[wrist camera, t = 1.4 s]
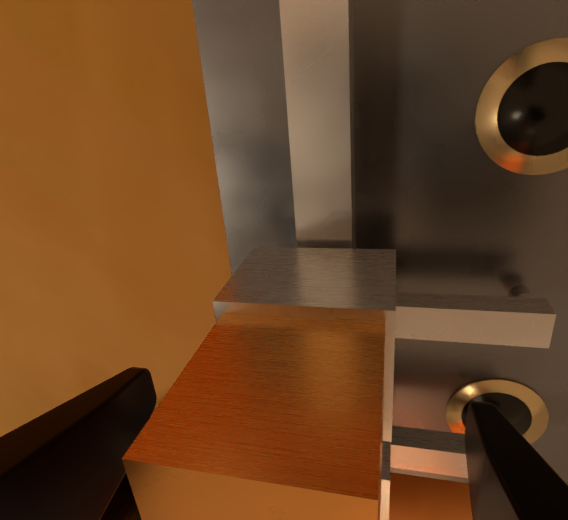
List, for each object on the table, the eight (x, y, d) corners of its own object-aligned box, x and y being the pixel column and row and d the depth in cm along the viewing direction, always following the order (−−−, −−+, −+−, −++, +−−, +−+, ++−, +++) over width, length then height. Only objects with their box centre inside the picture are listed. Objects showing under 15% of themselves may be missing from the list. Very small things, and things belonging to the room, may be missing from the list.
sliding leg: (521, 346, 13) (688, 722, 5) (275, 329, 15) (156, 591, 7) (541, 235, 11) (805, 549, 4) (265, 233, 13) (104, 441, 6)
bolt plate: (559, 463, 17) (634, 647, 11) (267, 426, 19) (220, 558, 14) (697, -66, 10) (1049, -216, 4) (212, 1, 13) (84, -42, 7)
